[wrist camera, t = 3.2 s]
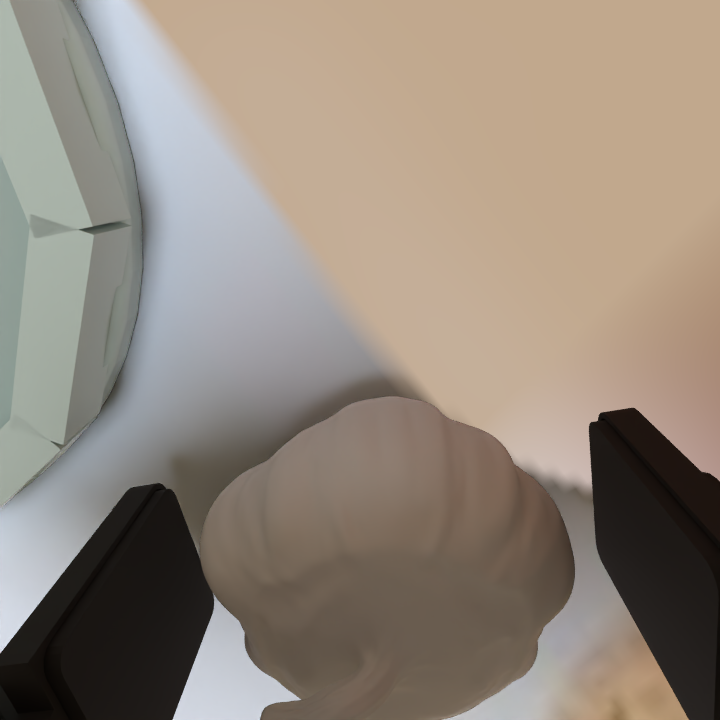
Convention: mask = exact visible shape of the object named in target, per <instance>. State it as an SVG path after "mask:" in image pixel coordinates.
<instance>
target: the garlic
mask: <svg viewBox="0 0 720 720" xmlns="http://www.w3.org/2000/svg"><path fill="white" fill-rule="evenodd" d="M200 561H201V566H202V570H203V573H204V576H205V578H206V581H207V583H208V585H209V587H210V589H211V590H212V592H213V594H214V595H215V597H216V598H217V599H218V600H219V602H220V603H221V604H222V605H223V606H224V607H225V608H226V609H227V610H228V611H229V612H230V613H231V614H232V615H233V616H234V617H235V618H237V619H238V620H239V621H240V624H241V626H242V628H243V630H244V632H245V648H246V651H247V653H248V655H249V657H250V659H251V660H252V662H253V663H254V664H255V665H256V666H257V667H258V668H259V669H260V670H261V671H263V672H264V673H266V674H267V675H269V676H271V677H273V678H274V679H276V680H277V681H278V682H279V683H280V684H281V685H283V686H284V687H285V688H286V689H288V690H289V691H290V692H292V693H293V694H295V695H296V696H298V697H299V698H300V699H301V700H299V701H290V702H280V703H274V704H271V705H269V706H267V707H265V708H264V710H263V712H262V715H261V718H260V720H442V719H447V718H450V717H453V716H456V715H459V714H461V713H464V712H466V711H468V710H470V709H472V708H474V707H475V706H477V705H478V704H480V703H481V702H482V701H484V700H485V699H487V698H489V697H491V696H493V695H494V694H496V693H498V692H499V691H501V690H502V689H504V688H505V687H506V686H508V685H509V684H510V683H512V682H513V681H515V680H517V679H519V678H521V677H522V676H524V675H525V674H526V673H527V672H528V671H529V670H530V668H531V667H532V665H533V664H534V661H535V659H536V656H537V651H538V641H537V640H538V638H539V637H540V635H541V633H542V631H543V628H544V626H545V625H546V624H548V623H549V622H550V621H551V620H552V619H553V618H554V617H555V616H556V615H557V614H558V613H559V612H560V611H561V610H562V609H563V607H564V606H565V604H566V603H567V601H568V599H569V597H570V595H571V593H572V589H573V585H574V578H575V564H574V556H573V551H572V547H571V543H570V539H569V536H568V533H567V530H566V527H565V524H564V521H563V519H562V516H561V514H560V512H559V510H558V508H557V506H556V504H555V503H554V501H553V499H552V498H551V497H550V495H549V494H548V493H547V492H546V490H545V489H544V488H543V487H542V486H541V485H540V484H539V483H538V482H537V481H536V480H535V479H534V478H532V477H531V476H530V475H529V474H527V473H526V472H524V471H523V470H522V469H520V468H519V467H517V466H516V465H514V463H513V461H512V458H511V456H510V455H509V453H508V451H507V450H506V448H505V447H504V446H503V445H502V444H501V443H500V442H499V441H498V440H497V439H496V438H495V437H493V436H492V435H490V434H489V433H487V432H485V431H482V430H480V429H478V428H475V427H472V426H468V425H466V424H463V423H460V422H457V421H454V420H451V419H449V418H447V417H446V416H444V415H443V414H442V413H441V412H440V411H439V410H438V409H437V408H436V407H435V406H433V405H431V404H429V403H427V402H424V401H421V400H415V399H409V398H404V397H399V396H385V397H379V398H373V399H366V400H361V401H358V402H354V403H352V404H349V405H347V406H345V407H344V408H342V409H341V410H340V411H338V412H337V413H336V414H334V415H333V416H331V417H329V418H328V419H326V420H324V421H321V422H319V423H317V424H315V425H313V426H311V427H309V428H307V429H305V430H303V431H301V432H300V433H298V434H297V435H296V436H295V437H293V438H292V439H291V440H289V441H288V442H287V443H286V444H285V445H283V446H282V447H281V448H280V449H279V450H278V451H277V452H276V453H275V454H274V455H273V456H272V457H271V458H269V459H268V460H267V461H265V462H263V463H261V464H258V465H256V466H254V467H252V468H251V469H249V470H247V471H245V472H244V473H242V474H241V475H240V476H238V477H237V478H236V479H234V480H233V481H232V482H231V483H230V484H229V485H228V486H227V487H226V488H225V489H224V490H223V491H222V492H221V493H220V494H219V496H218V497H217V498H216V500H215V501H214V503H213V504H212V506H211V508H210V510H209V512H208V514H207V516H206V519H205V521H204V525H203V528H202V532H201V537H200Z"/></svg>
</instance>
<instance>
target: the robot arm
mask: <svg viewBox="0 0 720 720" xmlns="http://www.w3.org/2000/svg"><path fill="white" fill-rule="evenodd" d="M589 437H590V438H589V439H590V454H591V471H592V488H593V505H594V521H595V538H596V546H597V550H598V554H599V556H600V559H601V561H602V563H603V565H604V567H605V569H606V571H607V572H608V574H609V576H610V578H611V580H612V581H613V583H614V585H615V587H616V589H617V590H618V592H619V594H620V596H621V598H622V599H623V601H624V603H625V605H626V607H627V609H628V610H629V612H630V614H631V616H632V618H633V619H634V621H635V623H636V625H637V627H638V628H639V630H640V632H641V634H642V636H643V637H644V639H645V641H646V643H647V645H648V646H649V648H650V650H651V652H652V654H653V656H654V657H655V659H656V661H657V663H658V665H659V666H660V668H661V670H662V672H663V674H664V675H665V677H666V679H667V681H668V683H669V684H670V686H671V688H672V690H673V692H674V693H675V695H676V697H677V699H678V701H679V702H680V704H681V706H682V708H683V710H684V712H685V713H686V715H687V717H688V719H689V720H720V481H719V480H718V479H717V478H715V477H714V476H712V475H711V474H709V473H705V472H701V471H700V470H699V469H698V468H697V467H696V466H695V465H694V464H693V463H692V462H691V461H690V460H689V459H688V458H687V457H685V456H684V455H683V454H682V453H681V452H680V451H679V450H678V449H677V448H676V447H675V446H674V445H673V444H672V443H671V442H670V441H669V440H668V439H667V438H666V437H665V436H664V435H662V434H661V433H660V431H658V430H657V429H656V428H655V427H654V426H653V425H652V424H651V423H650V422H649V421H648V420H647V419H646V418H645V417H644V416H643V415H642V414H641V413H640V412H639V411H638V410H636V409H635V408H628V409H622V410H615V411H610V412H603V413H600V414H599V417H598V421H597V422H591V423H590V426H589ZM213 609H214V596H213V592H212V590H211V589H210V587H209V585H208V583H207V581H206V578H205V576H204V573H203V570H202V566H201V561H200V558H199V555H198V553H197V550H196V547H195V545H194V542H193V539H192V537H191V534H190V532H189V529H188V526H187V524H186V521H185V519H184V516H183V513H182V511H181V508H180V505H179V503H178V500H177V498H176V495H175V493H174V492H173V491H172V490H171V489H166V488H165V487H164V486H163V484H160V483H157V484H151V485H144V486H138V487H133V488H130V489H129V490H128V491H127V492H126V493H125V494H124V496H123V497H122V498H121V499H120V501H119V502H118V503H117V505H116V506H115V507H114V508H113V510H112V511H111V512H110V514H109V515H108V516H107V517H106V519H105V520H104V521H103V523H102V524H101V525H100V526H99V528H98V529H97V530H96V532H95V533H94V534H93V535H92V537H91V538H90V539H89V540H88V542H87V543H86V544H85V546H84V547H83V548H82V549H81V551H80V552H79V553H78V555H77V556H76V557H75V558H74V560H73V561H72V562H71V564H70V565H69V566H68V567H67V569H66V570H65V571H64V573H63V574H62V575H61V576H60V578H59V579H58V580H57V582H56V583H55V584H54V585H53V587H52V588H51V589H50V591H49V592H48V593H47V594H46V596H45V597H44V598H43V600H42V601H41V602H40V603H39V605H38V606H37V607H36V609H35V610H34V611H33V612H32V614H31V615H30V616H29V617H28V619H27V620H26V621H25V623H24V624H23V625H22V626H21V628H20V629H19V630H18V632H17V633H16V634H15V635H14V637H13V638H12V639H11V641H10V642H9V643H8V644H7V646H6V647H5V648H4V650H3V651H2V652H1V653H0V720H172V719H173V717H174V714H175V711H176V709H177V706H178V703H179V701H180V698H181V695H182V693H183V690H184V688H185V685H186V682H187V680H188V677H189V674H190V672H191V669H192V666H193V664H194V661H195V658H196V656H197V653H198V650H199V648H200V645H201V642H202V640H203V637H204V634H205V632H206V629H207V626H208V624H209V621H210V619H211V616H212V613H213Z"/></svg>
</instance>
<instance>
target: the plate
mask: <svg viewBox="0 0 720 720" xmlns="http://www.w3.org/2000/svg"><path fill="white" fill-rule="evenodd" d="M142 270H143V257H142V216H141V209H140V202H139V195H138V189H137V182H136V175H135V168H134V161H133V158H132V154H131V150H130V147H129V143H128V139H127V135H126V132H125V128H124V124H123V120H122V117H121V113H120V109H119V106H118V102H117V100H116V97H115V94H114V92H113V89H112V87H111V84H110V82H109V79H108V76H107V74H106V71H105V69H104V66H103V64H102V61H101V58H100V56H99V53H98V51H97V48H96V46H95V43H94V41H93V39H92V37H91V35H90V33H89V31H88V29H87V27H86V25H85V23H84V21H83V19H82V18H81V16H80V14H79V12H78V10H77V8H76V6H75V4H74V2H73V0H0V509H1V508H2V507H3V506H4V505H5V504H6V503H7V502H8V501H9V500H10V499H11V498H12V497H14V496H15V495H16V494H17V493H19V492H20V491H21V490H22V489H24V488H25V487H26V486H27V485H29V484H30V483H31V482H32V481H34V480H35V479H36V478H37V477H38V476H39V475H41V474H42V473H43V472H44V471H45V470H46V469H47V468H48V467H49V466H50V465H52V464H53V463H54V462H55V461H56V460H57V459H58V458H59V457H60V456H61V455H63V454H64V453H65V452H66V451H67V450H68V449H69V447H70V446H71V445H72V444H73V443H74V442H75V441H76V440H77V439H78V438H79V436H80V435H81V434H82V433H83V432H84V431H85V430H86V429H87V428H88V426H89V425H90V424H91V423H92V422H93V421H94V420H95V419H96V418H97V417H96V416H97V415H98V414H99V413H100V409H101V407H102V405H103V404H104V402H105V401H106V399H107V398H108V396H109V394H110V393H111V391H112V388H113V386H114V384H115V381H116V379H117V377H118V374H119V372H120V370H121V368H122V365H123V363H124V361H125V358H126V356H127V352H128V349H129V345H130V341H131V337H132V333H133V329H134V326H135V322H136V318H137V314H138V305H139V296H140V287H141V279H142Z"/></svg>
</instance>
